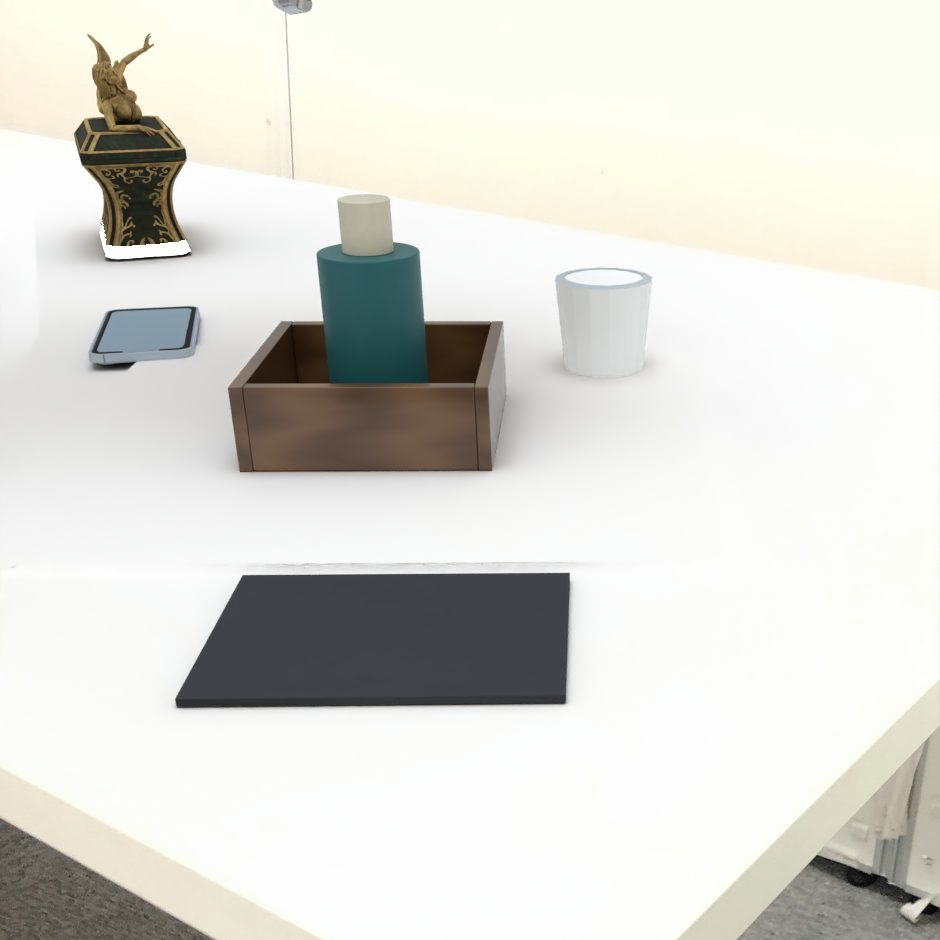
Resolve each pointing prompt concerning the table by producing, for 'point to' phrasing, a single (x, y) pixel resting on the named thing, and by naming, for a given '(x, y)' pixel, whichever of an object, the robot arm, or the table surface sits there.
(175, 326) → the smartphone
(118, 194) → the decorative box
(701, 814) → the table surface
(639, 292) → the white cup
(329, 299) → the bottle
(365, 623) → the mat
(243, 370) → the wooden box
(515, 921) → the table surface
